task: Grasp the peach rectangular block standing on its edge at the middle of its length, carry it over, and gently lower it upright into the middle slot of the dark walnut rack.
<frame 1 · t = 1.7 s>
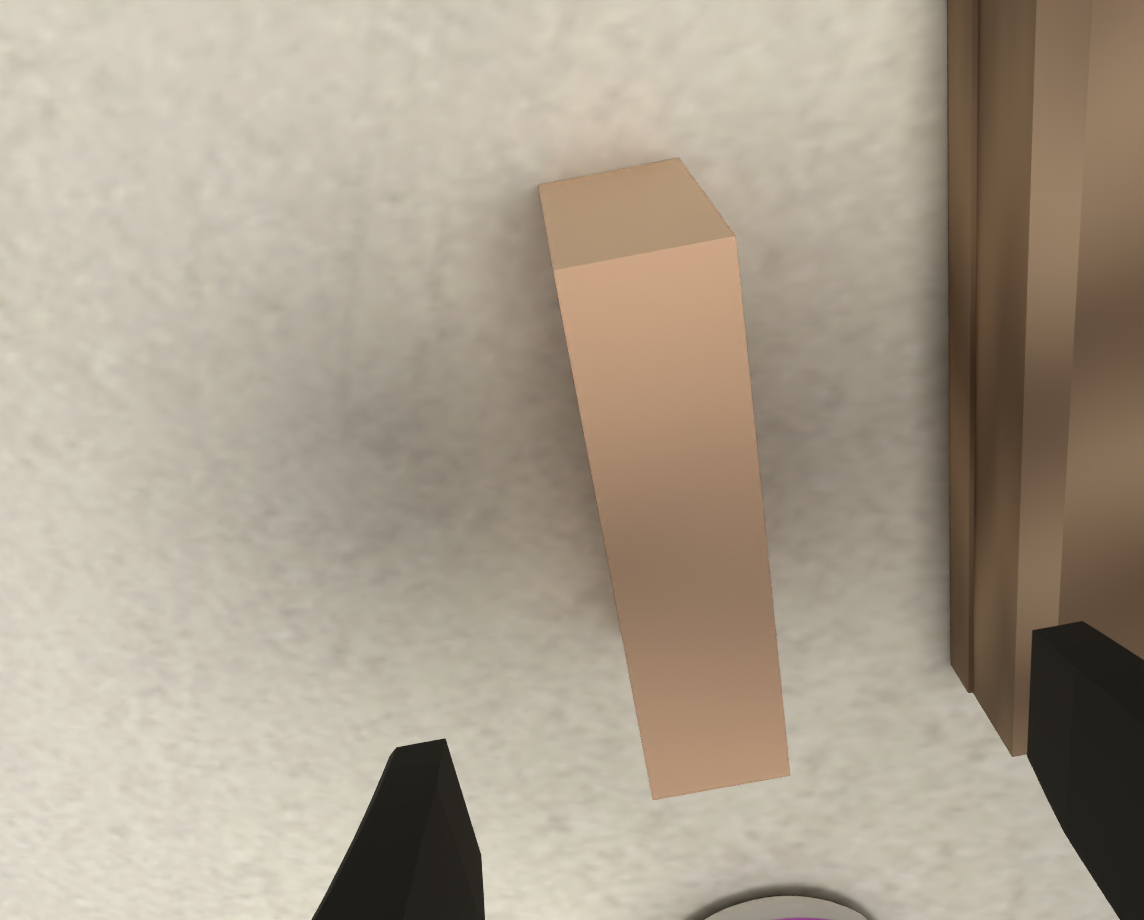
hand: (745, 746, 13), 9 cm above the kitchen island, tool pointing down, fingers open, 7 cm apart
peach rectangular block: (646, 420, 21), on the kitchen island
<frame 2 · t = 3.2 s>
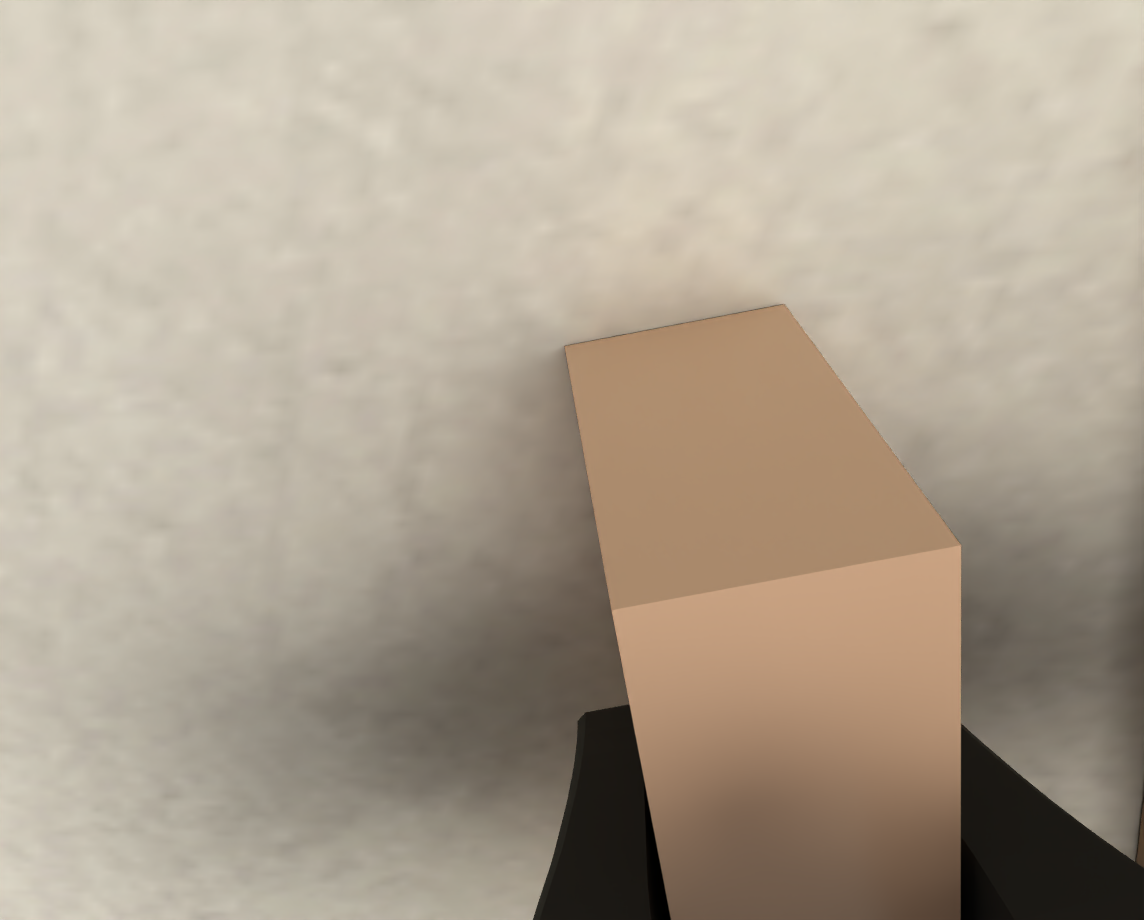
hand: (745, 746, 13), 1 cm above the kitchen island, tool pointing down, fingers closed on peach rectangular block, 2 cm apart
peach rectangular block: (721, 670, 14), on the kitchen island, touching gripper
when the fingers open (4 cm above the kitchen island, at t = 6.5 s): peach rectangular block stays where it is, resting on rack.
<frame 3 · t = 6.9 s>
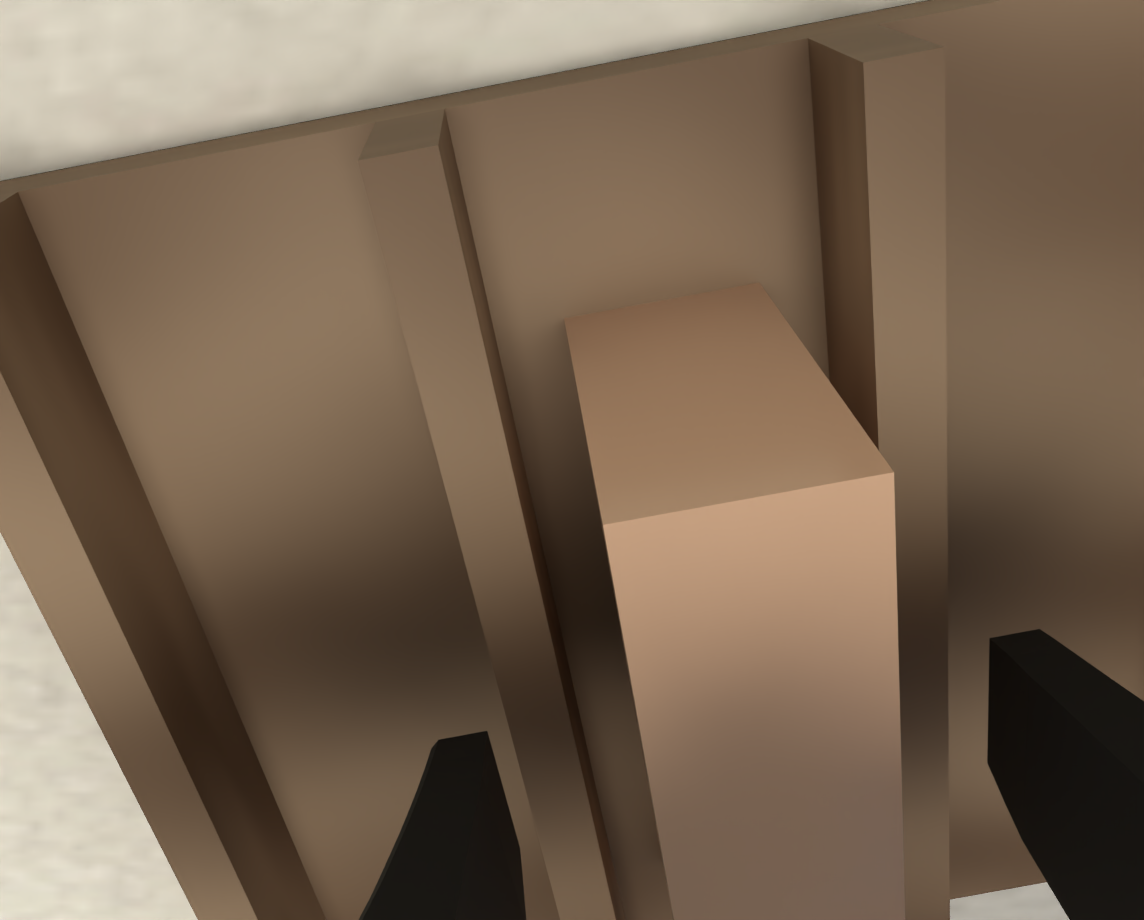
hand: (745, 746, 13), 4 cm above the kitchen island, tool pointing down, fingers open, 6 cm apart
rack: (689, 564, 17), on the kitchen island
peach rectangular block: (703, 616, 16), point 1 cm above the kitchen island, touching rack
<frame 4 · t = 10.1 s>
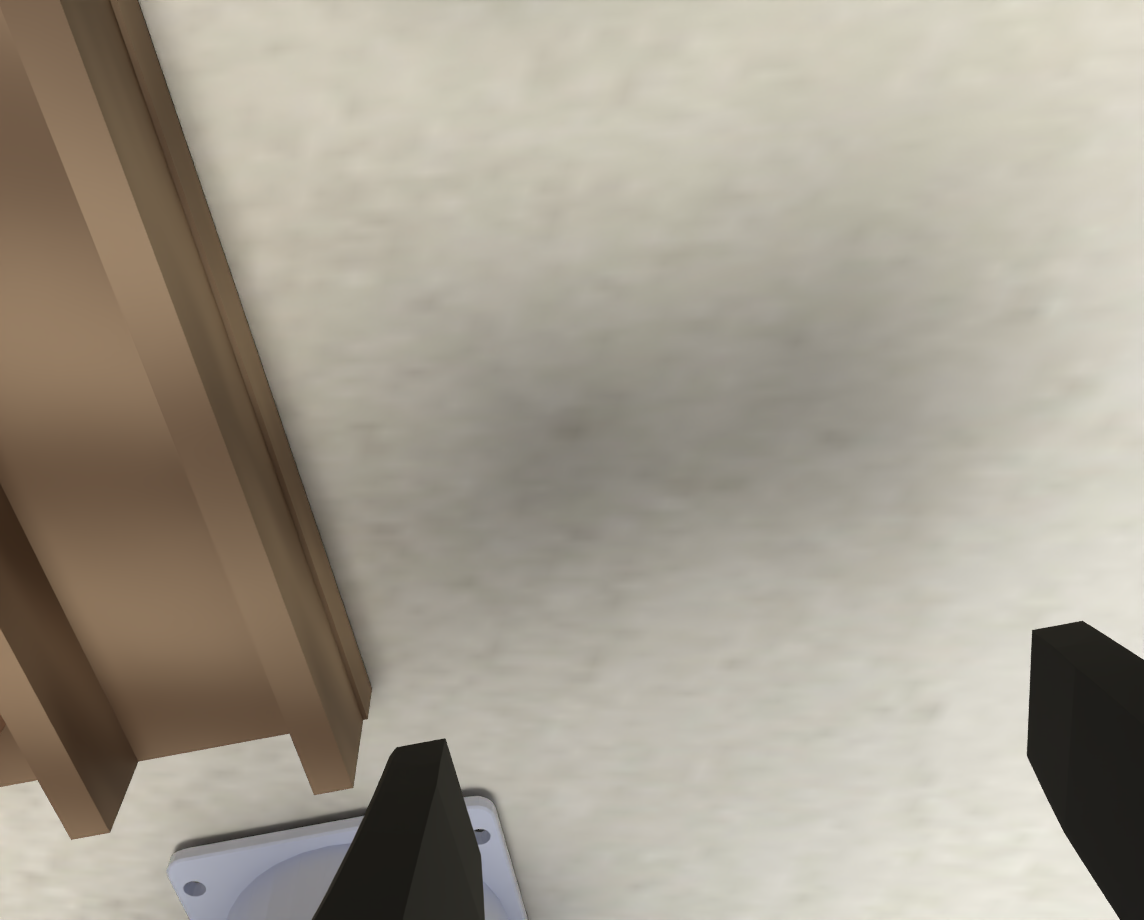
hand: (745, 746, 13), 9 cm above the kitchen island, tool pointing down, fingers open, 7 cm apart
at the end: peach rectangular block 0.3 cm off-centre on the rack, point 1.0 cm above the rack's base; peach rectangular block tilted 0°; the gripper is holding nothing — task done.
